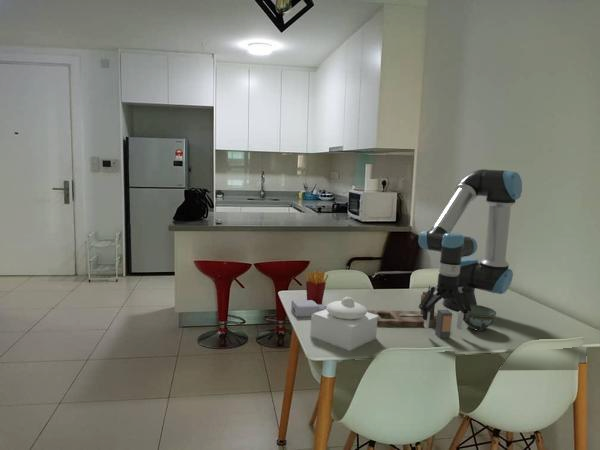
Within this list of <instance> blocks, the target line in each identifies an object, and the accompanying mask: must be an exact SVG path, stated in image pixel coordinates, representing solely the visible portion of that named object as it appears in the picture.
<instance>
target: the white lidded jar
mask: <svg viewBox="0 0 600 450" xmlns="http://www.w3.org/2000/svg"><path fill="white" fill-rule="evenodd" d="M326 306H327V307H325V308H326V309H325V310H322V311H319V312H316V313H313V315H312V316H310V317H311V318H310V319H311V321H310V332H309V333H310V338H313V339H315V340H316V339H317V340H319V341H321V342H325V343H326V342H327V344H329V343H330V344H329V345H333V346H334V345H335V347H337V346H338V348H340V347H341V348H340V349H342V348H343V349H342V350H345V349H346V351H349V352H351V351H352V350H355V349H357V348H359V347H361V346H363V345H365V344H367V343H370V342H371V341H374V340H375V339H376V338H377V331H378V330H377V329H378V326H377V320H378V318H379V316H378V315H375V314H372V313H368V312H367V311H368V310H367V308H366V306H364V305H363V304H360V303H358V302H356V301H355V300H354V298H352V297H350V296H345V297H343V298H342V299H341V300H335V301H332V302H330V303H328V304H327V305H326Z"/></svg>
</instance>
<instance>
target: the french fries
mask: <svg viewBox="0 0 600 450" xmlns="http://www.w3.org/2000/svg"><path fill="white" fill-rule="evenodd" d="M309 273H310V274H309ZM328 278H329V274H326V276H325V271H323V270H322V271H318V270H315V271H312V270H311V271H310V272H306V279H307V280H306V281H305V288H306V289H305V291H306V300H312V301H314V302H315V303H316V304H317V305H319V304H323V300H324V299H323V298H324V293H325V288H326V282H327V280H328Z"/></svg>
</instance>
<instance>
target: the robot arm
mask: <svg viewBox="0 0 600 450" xmlns="http://www.w3.org/2000/svg"><path fill="white" fill-rule="evenodd" d="M522 191H523V182H522V177H521V176H520V173H518V172H517V171H512V170H502V169H501V170H500V169H498V170H497V169H486V168H485V169H484V168H483V169H477V170H475V171H472V172H470V173H469V174H467V175H466V176H465V177H463V178H462V179H461V180H460V181H459V182H458V183H457V184H456V186H455V188H454V193H453V195H452V196H451V198H450V199H449V201H448V203H447V204H446V205H445V207H444V209H443V210H442V212H440V215H439V216H438V217H437V219H436V221H435V222H434V224H433V225H432V227H431V228H430V230H423V231H421V232H420V233H419V236H418V239H417V240H418V241H417V242H418V246H419V247H420V248H421V249H425V250H428V251H433V252H438V253H440V258H439V259H440V260H439V268H438V272H439V273H438V274H437V275H438V276H437V284H436V286H434V285H429V286H428V289H427V290H428V291H426V292H427V294H426V295H425V297H424V298H423V300H422V302H421V301H420V304H419V305H418V308H419V309H420V311H421V310H423V319H424V326H423V327H424V328H425V329H426V330H429V327H430V326H429V319H430V312H429V310H430V309H431V308H432V307H433V306H434V305H435V306H436V304H437V303H439V301H441V300H443V301H442V305H443V306H444V307H446V308H448V309H450V310H455V311H458V310H459V311H458V315H457V323H456V328H457V329H459V330H460V331H461V330H463V325H464V324H463V323H464V321H465V316H466V314H467V313H468V311H471V307H470V305H478V303H477V300H476V299H477V297H476V295H475V291H476V290H481V291H484V292H488V293H489V292H490V293H492V294H498V295H503V294H505V293H507V291H508V289H509V288H510V286H511V283H512V281H513V275H514V273H513V270H512V269H511V268H509V267H510V266H509V265H510V264H509V262H508V261H507V260H506V258H507V247H508V238H509V228H510V219H511V208H512V207H513V205H515V204H516V200H519V199H520V198H521V197H522ZM479 196H481V197H485V198H486V200H485V202H486V203H487V204H488V205H489V207H488V216H487V217H488V218H487V219H488V220H487V227H486V229H487V230H486V239H485V250H484V258H482V259H481V260H480V263H479V259H478V258H473V257H469V256H472V255H474V254H475V253H476V252H477V250H478V243H477V240H476V239H475V238H473V237H471V236H466V235H463V234H461V233H455V232H452V231H453V229H454V228H455V226H456V225H457V223H458V222H459V221H460V218H461V217H462V216H463V214H464V212H465V211H466V209H467V208H468V206H469V205H470V202H472V201H475V199H476V198H477V197H479ZM475 289H476V290H475ZM435 292H436V293H435ZM433 294H435V296H434V297H433V298H432V299H431V297H432V295H433ZM430 299H431V300H430ZM429 300H430V301H429ZM463 305H464V306H465V308H464V306H463Z"/></svg>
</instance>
